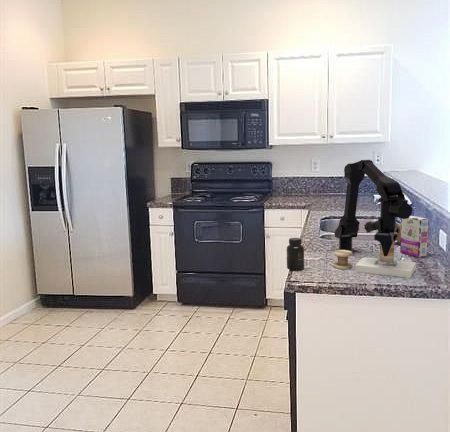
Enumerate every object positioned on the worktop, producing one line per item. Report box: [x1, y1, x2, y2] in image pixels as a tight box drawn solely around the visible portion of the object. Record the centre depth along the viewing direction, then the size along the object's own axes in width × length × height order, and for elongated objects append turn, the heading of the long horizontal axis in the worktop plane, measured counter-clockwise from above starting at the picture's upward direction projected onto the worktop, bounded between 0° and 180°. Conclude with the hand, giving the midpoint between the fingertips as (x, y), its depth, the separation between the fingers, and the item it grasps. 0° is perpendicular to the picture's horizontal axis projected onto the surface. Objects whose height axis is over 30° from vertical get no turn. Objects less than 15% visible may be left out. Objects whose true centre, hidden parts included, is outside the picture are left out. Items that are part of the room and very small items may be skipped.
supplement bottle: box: [286, 237, 305, 271], centre depth 188 cm, size 7×7×12 cm
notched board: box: [354, 257, 417, 279], centre depth 184 cm, size 13×20×2 cm, turn 61°
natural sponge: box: [394, 223, 401, 245], centre depth 224 cm, size 9×9×10 cm
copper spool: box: [379, 241, 395, 264], centre depth 185 cm, size 5×5×8 cm
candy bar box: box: [399, 215, 430, 259], centre depth 205 cm, size 11×5×16 cm, turn 23°
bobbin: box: [333, 249, 353, 270], centre depth 190 cm, size 7×7×6 cm
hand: (386, 254), depth 185 cm, fingers closed on copper spool, 5 cm apart
